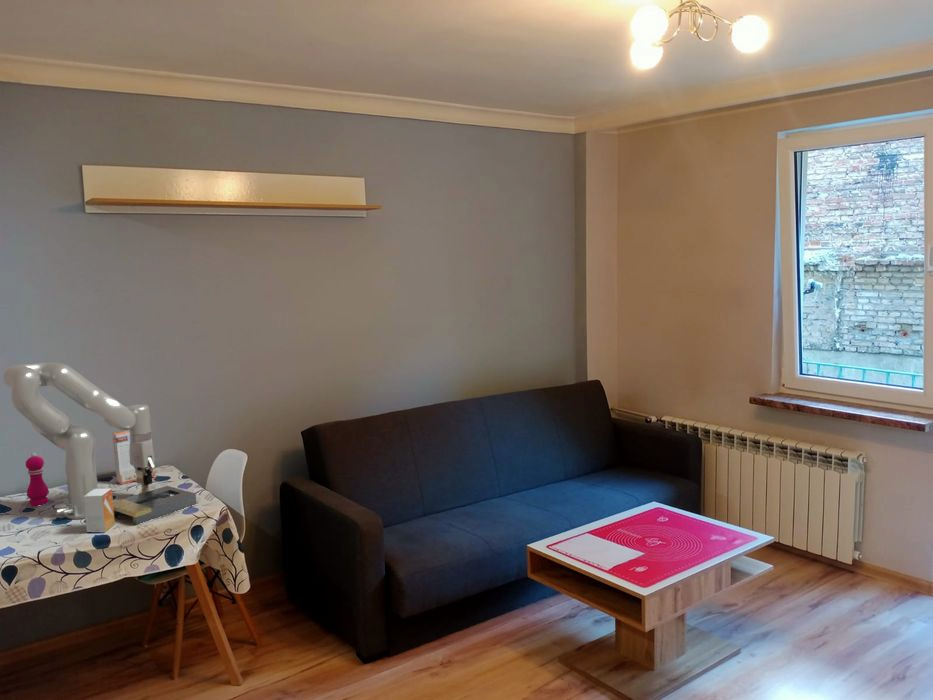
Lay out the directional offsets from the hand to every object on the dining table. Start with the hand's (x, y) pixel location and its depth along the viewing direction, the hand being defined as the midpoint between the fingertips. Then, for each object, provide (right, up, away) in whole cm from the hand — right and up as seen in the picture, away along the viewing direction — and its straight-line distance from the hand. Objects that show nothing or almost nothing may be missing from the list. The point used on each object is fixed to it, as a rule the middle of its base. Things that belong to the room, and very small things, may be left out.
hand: (144, 482), depth 283 cm
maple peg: (0, -6, +1) cm, 6 cm away
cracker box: (-14, -3, +24) cm, 28 cm away
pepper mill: (-39, -8, -4) cm, 39 cm away
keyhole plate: (+9, -8, -14) cm, 18 cm away
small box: (-1, -10, -31) cm, 32 cm away
